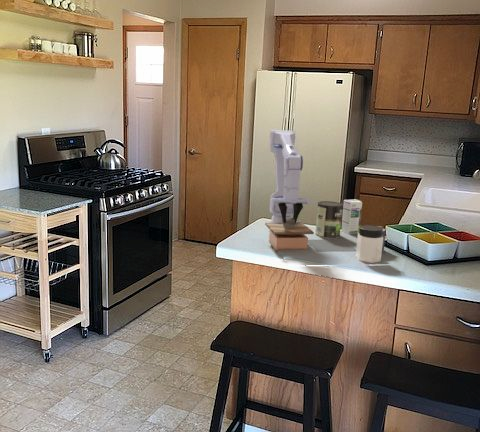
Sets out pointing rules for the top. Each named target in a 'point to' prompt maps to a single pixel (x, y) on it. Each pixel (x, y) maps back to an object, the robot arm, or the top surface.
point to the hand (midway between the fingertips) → (289, 222)
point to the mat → (330, 245)
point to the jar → (369, 243)
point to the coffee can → (329, 219)
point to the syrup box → (351, 216)
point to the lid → (289, 227)
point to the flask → (383, 238)
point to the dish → (288, 241)
